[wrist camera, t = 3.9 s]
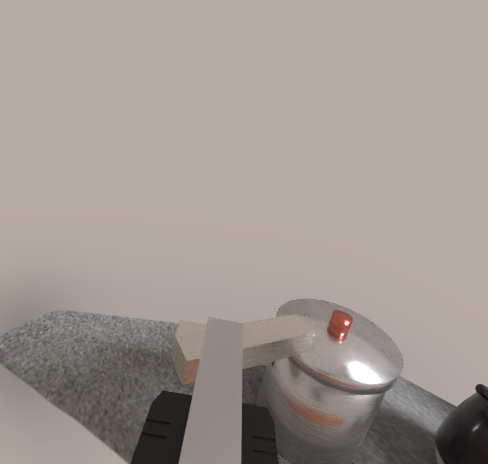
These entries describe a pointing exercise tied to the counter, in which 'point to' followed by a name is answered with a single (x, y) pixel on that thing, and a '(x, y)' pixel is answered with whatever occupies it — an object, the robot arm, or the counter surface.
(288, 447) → the cooker pot
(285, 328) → the lid
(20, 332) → the counter surface
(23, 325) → the counter surface
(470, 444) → the pump dispenser
